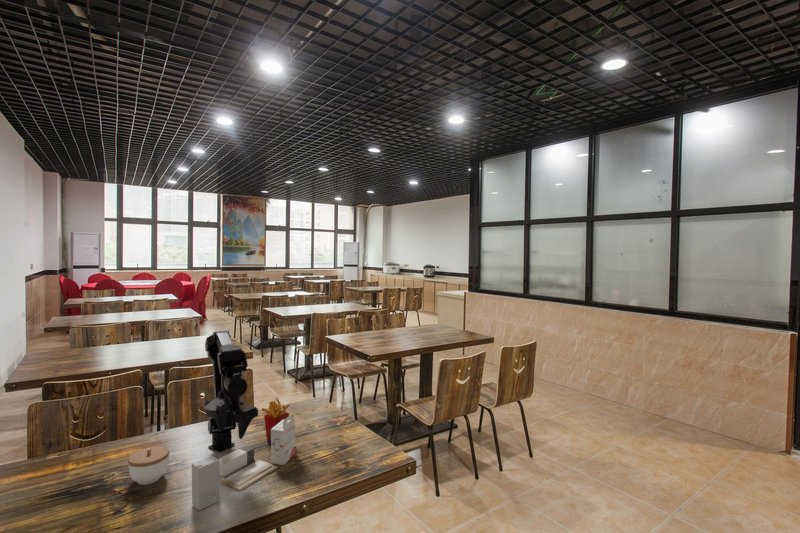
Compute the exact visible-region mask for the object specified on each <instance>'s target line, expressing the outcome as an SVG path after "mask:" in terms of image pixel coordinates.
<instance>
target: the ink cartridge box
mask: <svg viewBox="0 0 800 533" xmlns="http://www.w3.org/2000/svg"><path fill="white" fill-rule="evenodd" d="M295 420H296V418H295V413H294V412H292V413H291V414H289V417H287V418H286V419H285V420H282V421H280V422H279V423H278V424H277V425H276V426H274V427H273V428H272V429H271V442H270V464H273V465H281V466H285V465H286V464H287V462H288V461H290V459H292V457H293V456H294V455H295V454H296V421H295Z"/></svg>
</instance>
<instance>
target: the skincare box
mask: <svg viewBox="0 0 800 533" xmlns="http://www.w3.org/2000/svg"><path fill="white" fill-rule="evenodd" d="M218 459H219V458H217V457H215V456H213V455H211V456H208V457H205V458H203V459H201V460H198V461H194V462H191V505H192V506H193V507H194V508H195V509H196V510H197V511H201V510H204V509H205V508H208V507H210V506H212V505H214V504H216V503H218V502H220V499H221V498H220V497H221V496H220V492H221V491H220V483H219V460H218Z"/></svg>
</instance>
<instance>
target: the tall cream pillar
mask: <svg viewBox="0 0 800 533" xmlns="http://www.w3.org/2000/svg"><path fill="white" fill-rule="evenodd" d="M254 458H255V447H252V446H248V445H247V444H246V445H243V446H241V447H240V448H237V449H236V450H233V451H231V452H230V453H228V454H225V455H223V456H221V457H219V458H217V459H218V460H219V475H220V476H222V477H224V476H226V475H228V474H230V473H232V472H233V471H235V470H237V469H239V468H241V467H242V466H244V465H246V464H248V463H250V462H252V461H253V460H254Z"/></svg>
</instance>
